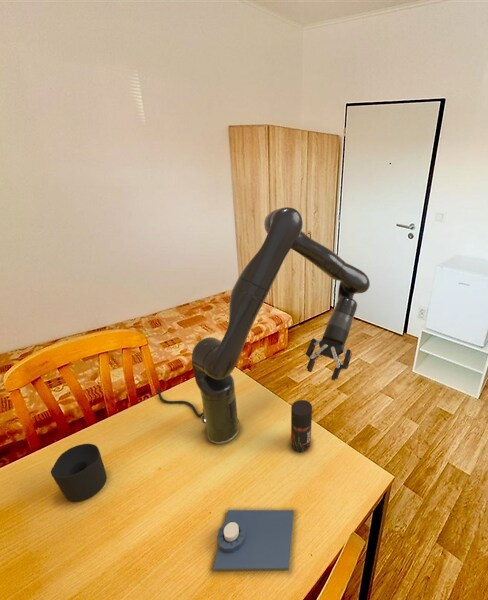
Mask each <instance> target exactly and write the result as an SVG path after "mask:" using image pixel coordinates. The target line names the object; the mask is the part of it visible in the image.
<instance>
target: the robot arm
mask: <svg viewBox="0 0 488 600" xmlns="http://www.w3.org/2000/svg"><path fill="white" fill-rule="evenodd" d="M303 222H304V221H303V217H302V214H301V213H300V212H299V211H298V210H297V209H296V208H294V207H289V206H285V207H280V208H278V209H274V210H272V211H270V212H269V213H267V215H266V216H265V219H264V222H263V226H264V230H265V232H266V234H267V235H266V237H265V239H264V241H263V243H262V245H261V247H260V248H259V249H258V251H257V252H256V253H255V254H254V255H253V257H252V258H251V259H250V260H249V261H248V263H247V264H246V265H245V267H244V268H243V269H242V271H241V273H240V274H239V276H238V278H237V279H236V282H235V284H234V285H233V287H232V289H231V292H230V296H229V303H228V304H229V306H228V307H229V308H228V316H229V317H228V323H227V328H226V330H225V333H224V335H223V337H222V340H220V339H219V338H218V339H217V338H216V337H211V336H210V337H205V338H203V339H201V340H199V341H198V342H197V343H196V344H195V345H194V347H193V349H192V353H191V366H192V371H193V375H194V380H195V383H196V386H197V387H198V389H199V391H200V394H201V395H200V397H201V402H202V412H201V413H199V412H198V410H197V409H196V407H195V405H193V404H192V403H191V402H190V401H186V400H167V399H164V398H163V397H162V392H161V388H157V389H156V391H157V395H158V399H159V400H160V401H162V402H163V403H166V404H186V405H188V406H190V407H191V410H193V412H194V414H195V415H196V416H197V417H199V418H201V421H202V423H203V424H204V426H205V431H206V437H207V440H208V441H209V442H210V443H212V444H214V445H225V444H227V443H229V442H232V441H233V440H234V439H235V438H236V437H237V436H238V434H239V433H240V425H239V423H240V421H239V417H238V416H239V415H238V407H237V396H236V388H235V387H236V386H235V380H234V377H233V376H232V373H233V371H234V370H235V369H236V366H237V365H238V362H239V360H240V357H241V354H242V352H243V350H244V347H245V344H246V341H247V339H248V337H249V334H250V332H251V329H252V327H253V325H254V323H255V321H256V318H257V316H258V314H259V312H260V311H261V309H262V307H263V305H264V303H265V301H266V299H267V297H268V295H269V294H270V291H271V288H272V287H273V284H274V282H275V280H276V278H277V276H278V274H279V272H280V269H281V268H282V265H283V264H284V260H285V259H286V257H287V256H288V254H289V252H290V251H291V250H292V251H294V252H296V253H297V254H299V255H300V256H302V257H303V258H304V259H306V260H307V261H309V263H311V264H313V265H314V266H315V267H316V268H318V269H319V270H320V271H322V272H323V273H324V274H325V275H327V276H328V277H329V278H330V279H332V280H334V281H339V286H338V292H337V301H336V303H335V306H334V307H333V311H332V313H331V315H330V317H329V319H328V320H327V325H326V327H325V330H324V333H323V335H322V338H321V340H318V339H316V338H314V337H312V338H311V340H310V342H309V344H308V347H307V349H306V351H305V356H306V357H308V358H309V360H308V362H307V365H306V369H307V372H308V373H312V372H313V369H314V367H315V363H316V360H317V359H319V358H321V357H322V356H323V357H325V358H329V359H331V360H333V361H334V364H335V367H334V370H333V372H332V374H331V375H332V376H331V378H330V380H332V381H334V382H335V381H336V380H338V378H339V375H340V373H341V371H342V370H348V368H349V365H350V363H351V358H352V355H353V351H352V350H351V349H349V348H348V349H347V348H345V345H346V342H347V340H348V337H349V333H350V330H351V328H352V325H353V320H354V317H355V315H356V312H357V309H358V302H357V300H356V299H354V295H356V294H363V293H366V292H367V291H368V290H369V288H370V285H371V282H370V278H369V276H368V275H367V274H366V273H365V272H364V271H363V270H362V269H359V268H357V267H356V266H354V265H352V264H350V263H348V262H346V261H345V260H344V259H342V257H340V256H339V255H338V254H336V252H334V251H333V250H331V249H330V248H328V247H326V246H325V245H323V244H321V243H319V242H318V241H316V240H314V239H313V238H311V237H309V236H308V235H307V234H306V233H304V232H303V231H302V230H303V224H304V223H303ZM318 346H319V348H318V349H317V350H315V349H316V347H318ZM314 351H315V352H314ZM342 354H343V355H344V358H343V361H342V362H341V359H340V355H342Z"/></svg>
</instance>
